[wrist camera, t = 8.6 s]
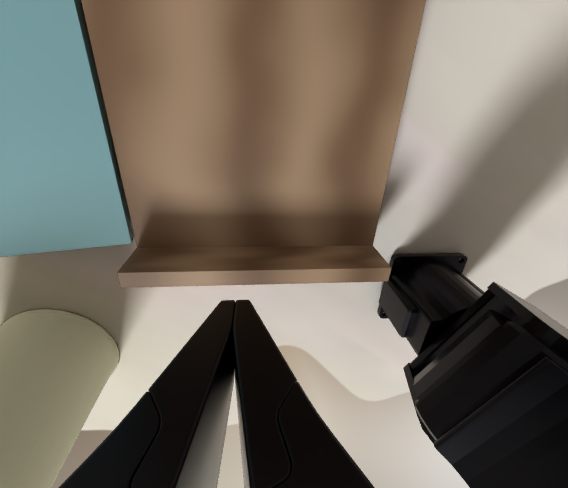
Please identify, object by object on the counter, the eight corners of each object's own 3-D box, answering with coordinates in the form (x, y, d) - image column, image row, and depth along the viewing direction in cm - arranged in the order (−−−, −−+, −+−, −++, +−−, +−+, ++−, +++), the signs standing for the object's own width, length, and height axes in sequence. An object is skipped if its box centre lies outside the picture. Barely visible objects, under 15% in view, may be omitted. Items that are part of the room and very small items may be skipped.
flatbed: (434, -138, 13) (532, -267, 8) (360, 245, 22) (388, 281, 17) (60, -197, 11) (-71, -402, 6) (150, 246, 20) (121, 287, 16)
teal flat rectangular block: (28, -193, 10) (-351, -314, 7) (131, 243, 18) (-31, 260, 15) (45, -158, 11) (-268, -249, 8) (134, 233, 19) (-15, 246, 16)
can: (46, 394, 26) (-98, 598, 15) (-30, 325, 22) (-305, 542, 11) (138, 370, 26) (58, 559, 15) (80, 295, 21) (-90, 486, 11)
